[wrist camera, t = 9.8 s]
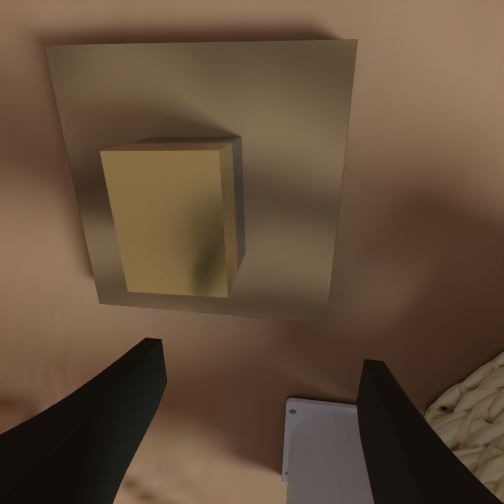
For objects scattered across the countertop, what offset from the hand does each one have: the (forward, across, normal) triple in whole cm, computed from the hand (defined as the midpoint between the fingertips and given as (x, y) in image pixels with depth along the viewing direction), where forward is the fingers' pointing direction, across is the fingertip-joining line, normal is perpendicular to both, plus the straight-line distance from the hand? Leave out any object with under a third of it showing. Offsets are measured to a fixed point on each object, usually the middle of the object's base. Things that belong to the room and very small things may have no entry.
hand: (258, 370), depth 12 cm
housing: (+7, +4, -4) cm, 9 cm away
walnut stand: (+9, +4, -4) cm, 11 cm away
